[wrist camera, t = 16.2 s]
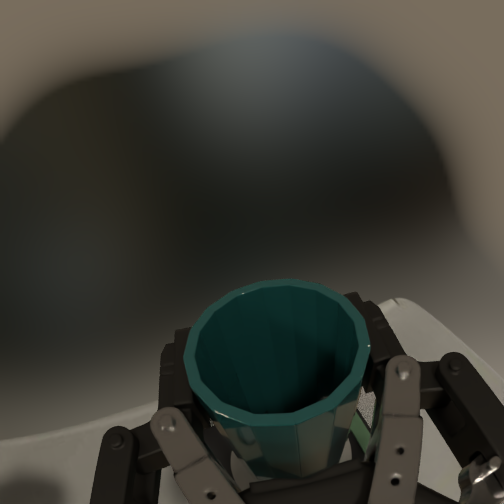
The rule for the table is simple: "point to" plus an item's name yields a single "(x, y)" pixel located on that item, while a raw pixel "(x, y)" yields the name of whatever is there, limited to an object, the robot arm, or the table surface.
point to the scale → (240, 475)
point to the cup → (280, 374)
